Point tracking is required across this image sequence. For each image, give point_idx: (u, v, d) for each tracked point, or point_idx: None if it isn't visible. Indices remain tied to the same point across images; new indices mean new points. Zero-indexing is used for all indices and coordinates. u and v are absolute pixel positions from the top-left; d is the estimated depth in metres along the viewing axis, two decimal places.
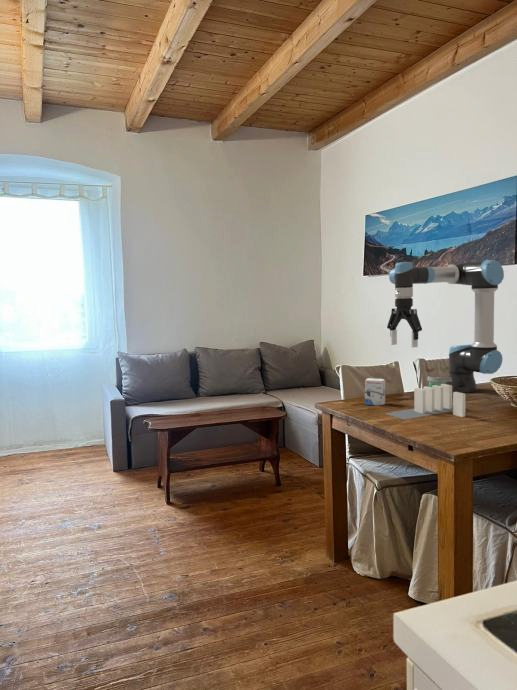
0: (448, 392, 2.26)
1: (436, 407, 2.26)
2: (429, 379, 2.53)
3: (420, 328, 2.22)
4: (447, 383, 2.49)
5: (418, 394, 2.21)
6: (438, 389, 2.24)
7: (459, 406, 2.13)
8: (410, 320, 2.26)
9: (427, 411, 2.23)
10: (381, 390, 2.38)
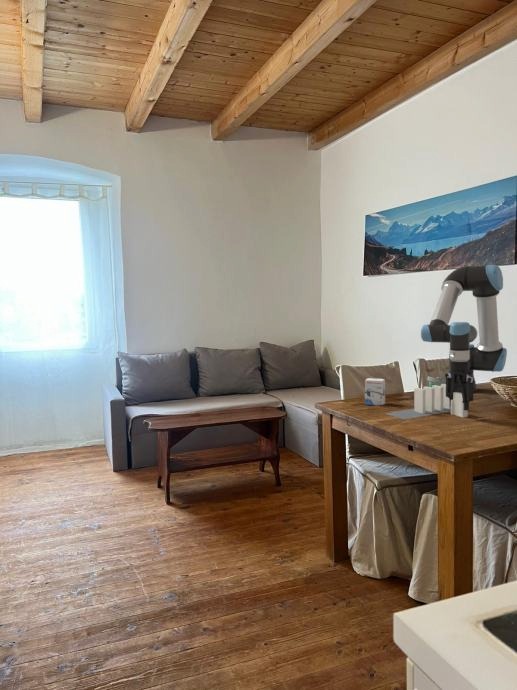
0: None
1: (436, 407, 2.26)
2: (429, 379, 2.53)
3: (471, 399, 2.09)
4: None
5: (418, 394, 2.21)
6: (438, 389, 2.24)
7: (459, 406, 2.13)
8: (464, 388, 2.10)
9: (427, 411, 2.23)
10: (381, 390, 2.38)
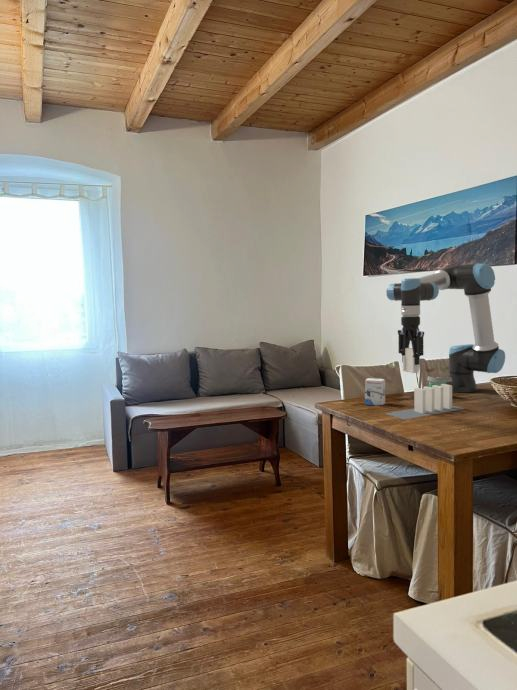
0: (448, 392, 2.26)
1: (436, 407, 2.26)
2: (429, 379, 2.53)
3: (421, 353, 2.12)
4: (447, 383, 2.49)
5: (418, 394, 2.21)
6: (438, 389, 2.24)
7: (410, 361, 2.17)
8: (414, 342, 2.14)
9: (427, 411, 2.23)
10: (381, 390, 2.38)
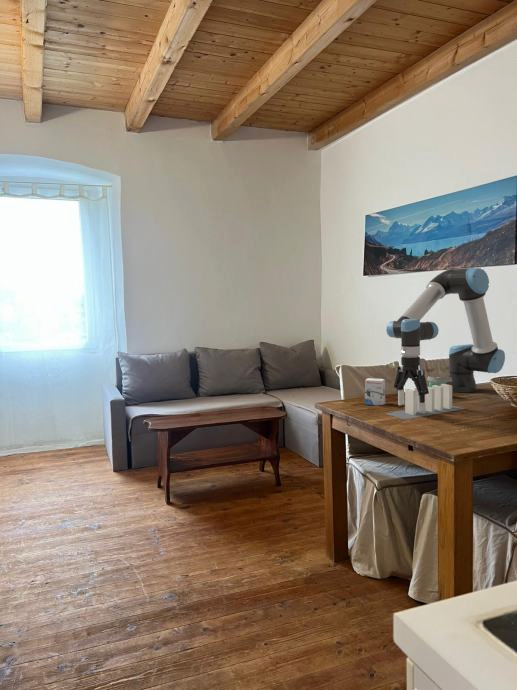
0: (448, 392, 2.26)
1: (436, 407, 2.26)
2: (429, 379, 2.53)
3: (427, 391, 2.11)
4: (447, 383, 2.49)
5: None
6: (438, 389, 2.24)
7: (410, 403, 2.19)
8: (417, 381, 2.15)
9: (427, 411, 2.23)
10: (381, 390, 2.38)
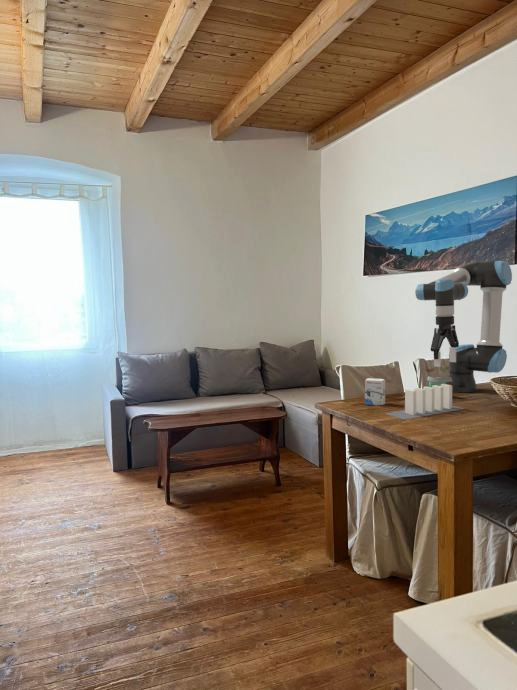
0: (448, 392, 2.26)
1: (436, 407, 2.26)
2: (429, 379, 2.53)
3: (434, 348, 2.19)
4: (447, 383, 2.49)
5: (418, 394, 2.21)
6: (438, 389, 2.24)
7: (410, 403, 2.19)
8: None
9: (427, 411, 2.23)
10: (381, 390, 2.38)
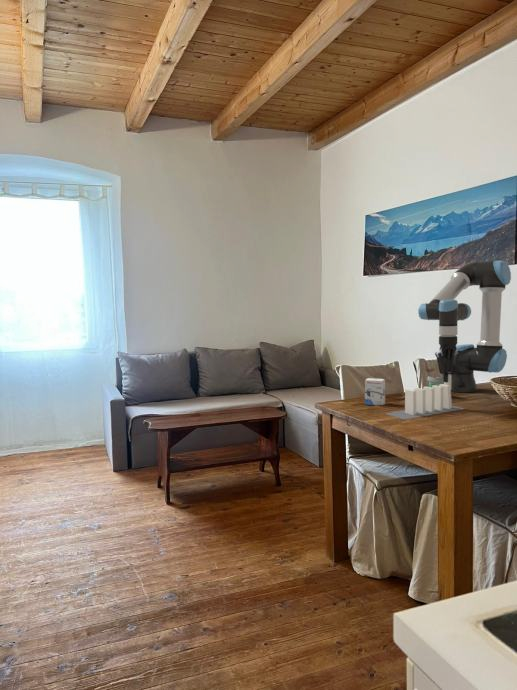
0: (447, 392, 2.26)
1: (436, 407, 2.26)
2: (429, 379, 2.53)
3: (442, 372, 2.25)
4: None
5: (418, 394, 2.21)
6: (438, 389, 2.24)
7: (410, 403, 2.19)
8: None
9: (427, 411, 2.23)
10: (381, 390, 2.38)
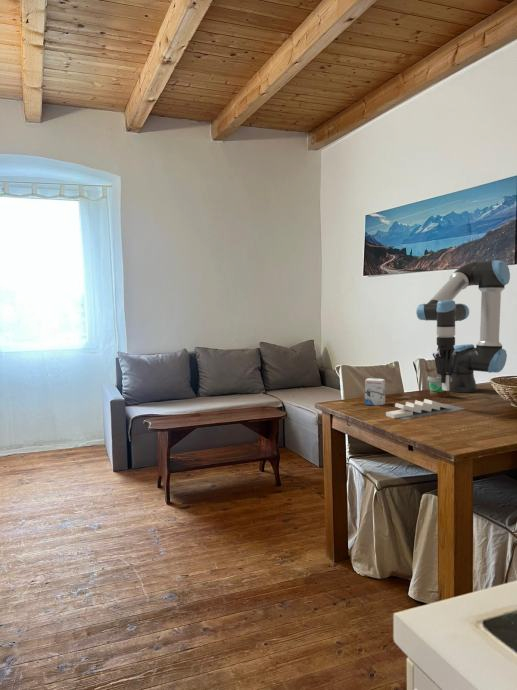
0: None
1: None
2: (429, 379, 2.53)
3: (440, 373, 2.25)
4: None
5: None
6: (422, 405, 2.21)
7: None
8: (441, 362, 2.26)
9: (427, 411, 2.23)
10: (381, 390, 2.38)
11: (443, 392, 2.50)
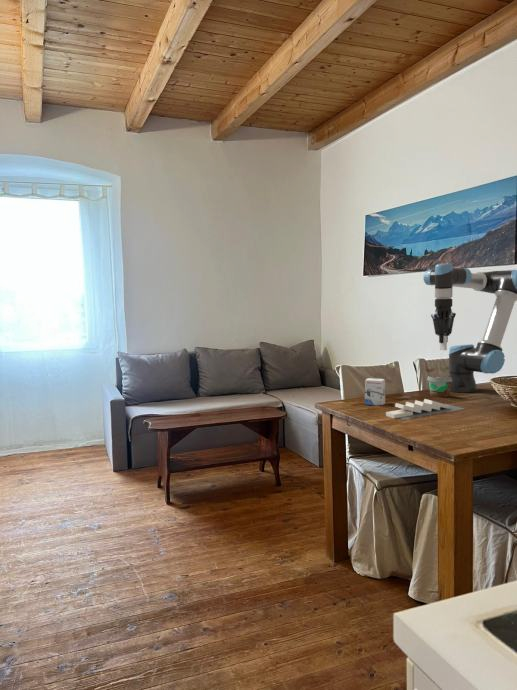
0: None
1: None
2: (429, 379, 2.53)
3: (438, 333, 2.36)
4: (447, 383, 2.49)
5: None
6: (422, 405, 2.21)
7: None
8: (439, 323, 2.37)
9: (427, 411, 2.23)
10: (381, 390, 2.38)
11: (443, 392, 2.50)
